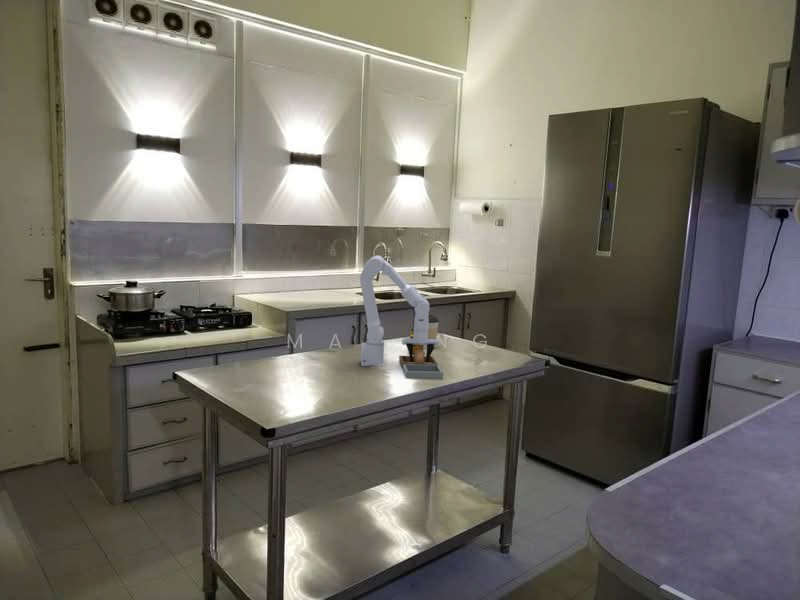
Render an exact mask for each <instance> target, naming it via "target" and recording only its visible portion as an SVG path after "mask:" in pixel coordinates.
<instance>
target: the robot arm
mask: <svg viewBox="0 0 800 600" xmlns="http://www.w3.org/2000/svg"><path fill="white" fill-rule="evenodd" d="M361 271H362V272H361V274H360V276H359V284H360V289H361V293H362V299H363V305H364V310H365V315H366V320H367V321H366V322H367V323H366V326H367V334H366V338H367V339H366V341H365V342H361V346H360V356H359V359H360V360H359V361H360V365H361V367H371V366H386V365H385V361H384V356H385V355H384V354H385V353H384V351H385V341H384V340H383V337H384V335H385V329H384V327H383V326H382V324H381V320H380V317H379V311H378V307H377V301H376V295H375V290H374V285H373V279H374V278H375V277H376V275H377V274H379V273H380V274H381V275H384V276H388V277H389V279H390V280H392V282H393V283H394V284H395V285H396V286H397V287H398V288H399V289H400V290H401V295H402V297H403V298H404V299H405V300H406V302H407V303H408V304H409V305H410V306H411V307H413V308H414V313H415V315H414V319H413V320H414V324H413V328H414V337H413V339H410V338H402V339H401V343H402V345H403V346H405V345H406V348H407V351H408V356H410V362H413V356H414V355H413V345H427V349H426V353H427V354H425V356H426V363H428V361H429V358H430V356H432V353H433V351H434V349H435V348H434V345H435V346H439V340H438V339H436V340H432V339H428V322H429V318H428V316H429V315H430V314H429V312H430V311H431V309H430V302H429V301H428V299H427V298H425V296H424V295H422V294H421V293H419V291H418V287H416V286H414V285H413V284H408V283H406V281H405V280H404V279H403V277H402V276H401V275H400V274H399V273H398V272H397V270H396V269H395V268H394V267H393V266H392V265H391V264H390V262H388V261H387V260H385V258H383V256H381V255H378V254H377V255H373V256H372V257H370V258H369V259H368V260H367V261H366V263H365V264H364V267H363V269H362V270H361Z"/></svg>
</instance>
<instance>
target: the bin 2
mask: <svg viewBox="0 0 800 600" xmlns="http://www.w3.org/2000/svg"><path fill="white" fill-rule="evenodd" d="M402 372H403V375H404V377H405V379H419V380H443V379H444V371H443V369H441V367H440V365H439V364H438V365H420V364H403V369H402Z"/></svg>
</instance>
